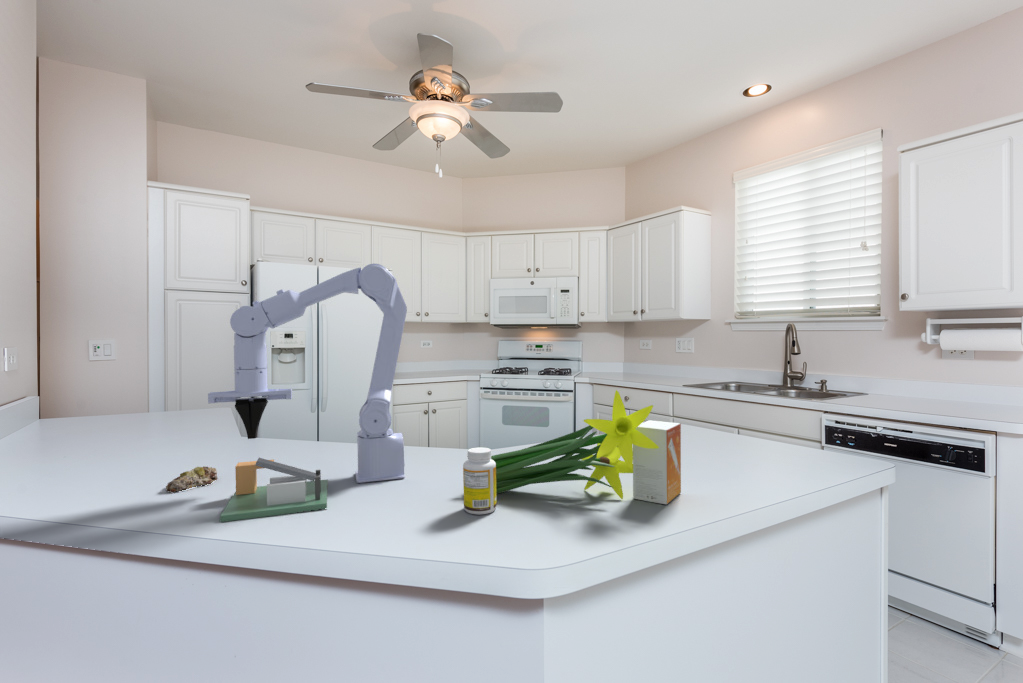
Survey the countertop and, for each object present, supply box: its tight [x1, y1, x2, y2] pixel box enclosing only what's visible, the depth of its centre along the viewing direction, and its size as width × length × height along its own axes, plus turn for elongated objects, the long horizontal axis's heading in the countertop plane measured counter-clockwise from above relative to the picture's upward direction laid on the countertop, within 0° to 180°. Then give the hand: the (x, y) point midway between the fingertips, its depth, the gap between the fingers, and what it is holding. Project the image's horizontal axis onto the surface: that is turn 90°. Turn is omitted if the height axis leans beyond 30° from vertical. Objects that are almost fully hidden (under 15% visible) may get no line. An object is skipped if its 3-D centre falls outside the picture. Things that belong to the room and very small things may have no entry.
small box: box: [632, 419, 682, 505], centre depth 90 cm, size 8×6×13 cm
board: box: [219, 469, 329, 523], centre depth 90 cm, size 16×15×5 cm
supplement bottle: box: [462, 446, 498, 516], centre depth 84 cm, size 6×6×10 cm
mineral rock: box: [165, 466, 218, 493], centre depth 100 cm, size 11×4×8 cm
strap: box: [255, 457, 320, 481], centre depth 88 cm, size 11×3×1 cm, turn 110°
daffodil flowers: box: [491, 389, 659, 500], centre depth 91 cm, size 17×15×35 cm
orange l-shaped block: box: [235, 459, 275, 495], centre depth 92 cm, size 6×3×5 cm, turn 110°
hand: (252, 437), depth 98 cm, fingers closed
